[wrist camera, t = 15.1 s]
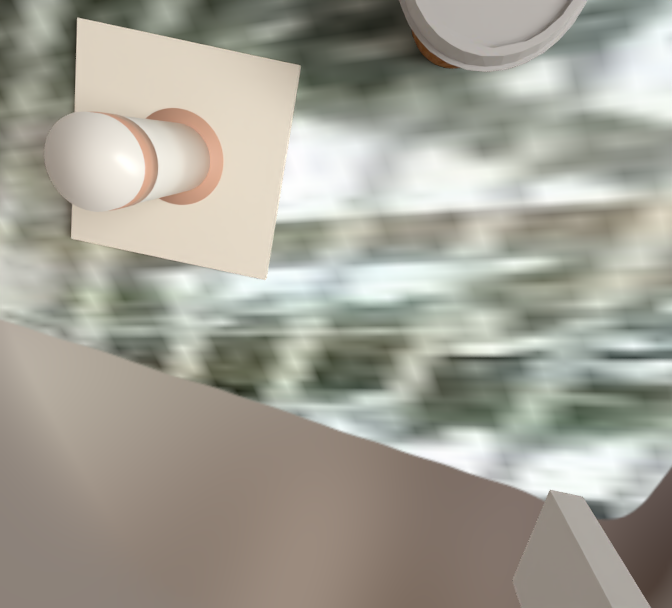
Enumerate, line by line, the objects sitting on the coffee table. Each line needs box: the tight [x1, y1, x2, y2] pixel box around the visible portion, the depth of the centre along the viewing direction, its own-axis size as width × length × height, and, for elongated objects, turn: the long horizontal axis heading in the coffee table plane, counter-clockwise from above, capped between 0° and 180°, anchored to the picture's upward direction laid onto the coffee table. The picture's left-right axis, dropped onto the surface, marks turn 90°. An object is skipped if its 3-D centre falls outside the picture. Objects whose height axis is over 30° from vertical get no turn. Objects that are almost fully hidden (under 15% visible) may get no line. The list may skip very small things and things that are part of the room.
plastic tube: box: [44, 112, 210, 212], centre depth 31 cm, size 5×5×12 cm
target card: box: [71, 18, 301, 280], centre depth 37 cm, size 16×16×1 cm
